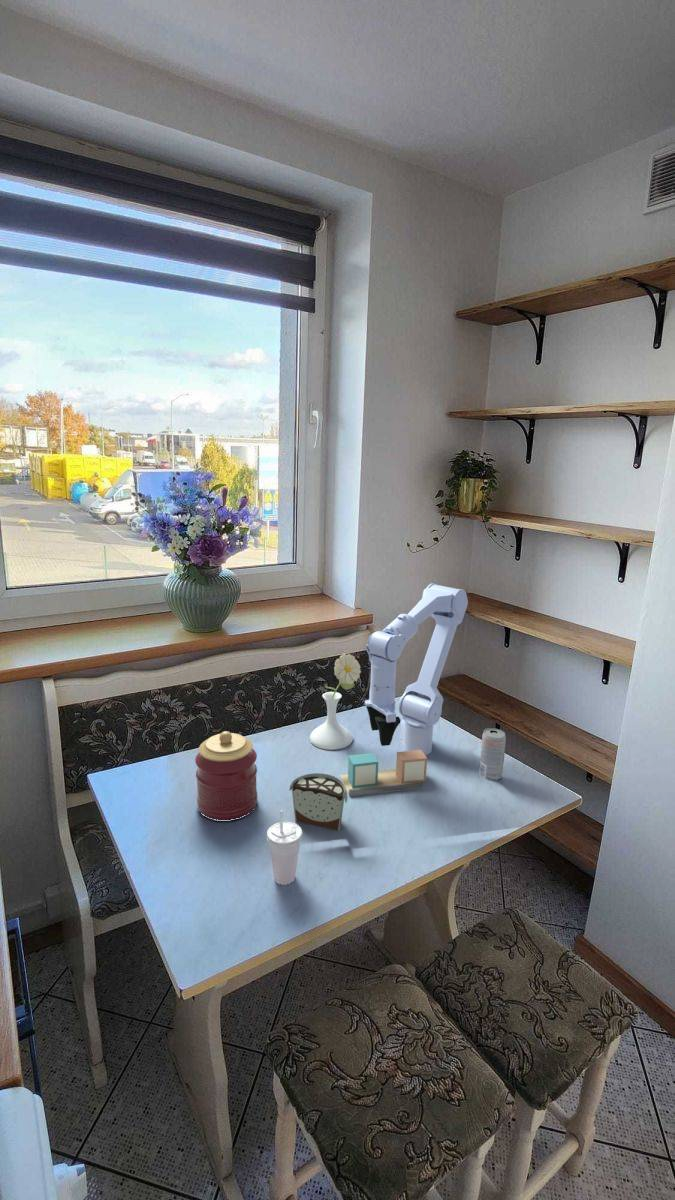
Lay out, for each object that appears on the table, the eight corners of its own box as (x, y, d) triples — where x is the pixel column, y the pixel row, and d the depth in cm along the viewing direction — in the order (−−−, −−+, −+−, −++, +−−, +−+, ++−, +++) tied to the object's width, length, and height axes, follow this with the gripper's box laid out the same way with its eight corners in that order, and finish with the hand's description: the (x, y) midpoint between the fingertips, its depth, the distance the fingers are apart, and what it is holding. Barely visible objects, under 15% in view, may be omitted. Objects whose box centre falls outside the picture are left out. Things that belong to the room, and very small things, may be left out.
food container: (354, 820, 128) (355, 778, 125) (345, 837, 122) (346, 793, 120) (300, 808, 132) (300, 767, 129) (289, 824, 126) (289, 781, 124)
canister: (185, 805, 132) (181, 731, 127) (233, 782, 141) (231, 713, 137) (221, 831, 123) (218, 753, 119) (269, 805, 133) (269, 732, 128)
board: (339, 779, 143) (340, 769, 143) (408, 772, 147) (408, 762, 146) (349, 800, 135) (349, 790, 134) (421, 792, 139) (421, 782, 138)
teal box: (347, 778, 141) (348, 755, 140) (372, 776, 143) (373, 753, 141) (352, 788, 138) (353, 764, 136) (377, 785, 139) (378, 761, 137)
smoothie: (267, 866, 113) (266, 800, 110) (301, 865, 114) (302, 799, 110) (266, 891, 107) (265, 822, 104) (302, 889, 108) (303, 821, 104)
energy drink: (499, 773, 147) (504, 728, 144) (503, 785, 142) (508, 739, 139) (477, 772, 148) (481, 727, 145) (480, 783, 143) (484, 737, 140)
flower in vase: (314, 756, 153) (315, 664, 147) (305, 735, 164) (306, 648, 158) (363, 751, 156) (366, 660, 150) (352, 731, 167) (354, 645, 161)
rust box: (395, 774, 143) (396, 752, 142) (419, 772, 145) (421, 749, 143) (401, 784, 140) (402, 760, 138) (425, 781, 141) (427, 758, 139)
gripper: (357, 672, 145) (356, 724, 148) (375, 697, 131) (372, 753, 135) (386, 670, 146) (383, 722, 150) (405, 694, 133) (403, 750, 136)
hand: (380, 737), depth 142 cm, fingers open, 7 cm apart
